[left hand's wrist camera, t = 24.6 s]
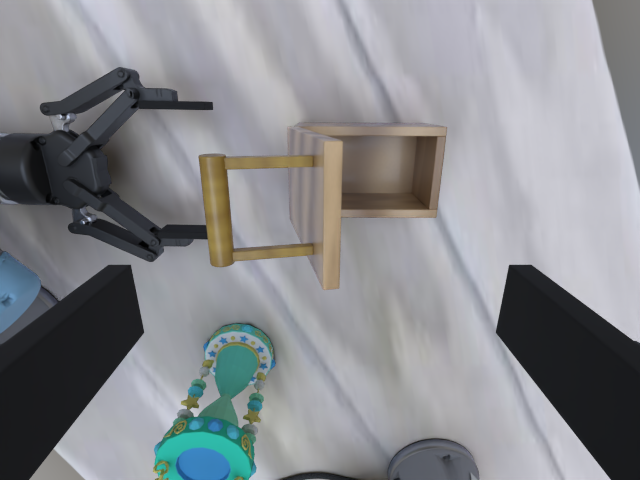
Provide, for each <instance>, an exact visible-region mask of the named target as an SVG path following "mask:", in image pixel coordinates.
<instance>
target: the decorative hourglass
mask: <svg viewBox="0 0 640 480" xmlns="http://www.w3.org/2000/svg"><path fill="white" fill-rule="evenodd" d="M204 351H205V361H204V362H203V365H202V366H203V367H202V368H201V369H200V372H199V373H200V376H202V377H201V379H196V380H193V382H192V383H191V384H192V387H190V388H189V390H188V393H189V394H188V399H187V400H184V401H181V404H182V405H185V406H187V409H182V410H179V412H178V413H177V416H178V418H177V419H175V420H174V422H173V426H172V427H171V429H170V430H169V431H168V432H167V433H166V434H165V436H164V437H163V440H162V441H161V442H159V443H158V444H157V445H155V448H154V451H155V455H156V459H155V467H154V469H153V472H154V473H158V476H159V478H157V479H155V480H249V478H250V477H251V476H252V475H253V474H254V473H255V472H256V466H255V463H254V461H253V460H254V455H255V454H254V446H253V444H254V443H255V441H256V437H255V436H254V435H255V434H256V433H257V432H258V430H257V427H256V426H255V425H252V423H253V422H260V421H261V419H260V418H259V417H258V416H257V415H258V413H259V411H260V410H261V409H262V404H261V403H262V402H263V401H264V398H263V396H262V395H261V394H259V393H258V392H259V390H262V389H263V388H264V381H265V379H266V375H267V373H268V372H269V370H270V369H272V368H273V367H274V366H275V364H276V363H275V360H274V358H273V347H272V345H271V342H270V340H269V338H268V337H267V336H266V335H265V334H264V333H263V332H262V331H261V330H259V329H257V328H255V327H252V326H250V325H245V324H232V325H228V326H224V327H222V328H221V329H219V330H218V331H217V332H215V333H214V334H213V336H212V337H211V339H210V341H208V342H207V343H205V344H204ZM209 371H210V373H211V374H212V375H214V376H215V381H216V384H217V387H218V390H219V393H220V396H221V397H220V398H219V399H217V400H216V401H215V402H213V403H212V404H210V405H209V406H208V407H206V408H205V409H204V410H203V411H202V412H201V413H200V414H199V416H198V417H194V416H193V413H192V412H191V411H190V410H189V409H191V408H192V407H193V408H199V405H198V403H197V401H198V399H199V398H200V397H201V396H202V395H203V390H204V389H205V388H206V383H205V382H204V381H203V380H202V378H203V377H206V376H207V375H208V374H209ZM252 384H255V385H254V386H255V388H256V389H257V390H258V392H257V393H253V394H251V395H250V397H249V399H250V402H249V403H248V404H247V405H248V409H249V410H248V414H247V415H245V416H244V417H243V419H246V420H249V422H250V424H246V425H244V426H243V427H242V429H241V428H239V427H238V419H237V415H236V413H235V410H234V407H233V405H232V402H231V399H232V398H233V397H235V396H236V395H237V394H239V393H240V392H241V391H242V390H244V389H245V388H246V387H247V386H248V385H252Z"/></svg>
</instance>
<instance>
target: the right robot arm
mask: <svg viewBox="0 0 640 480" xmlns="http://www.w3.org/2000/svg"><path fill="white" fill-rule="evenodd" d="M122 90H125V91H124V92H123V93H122V94H121V95H120V96H119V97H118V98H117V99H116V100H115V102H114V103H113V104H112V105H111V106H110V107H109V108H108V109H107V110H106V111H105V112H104V113H103V114H102V115H101V116H100V117H99V118H98V119H97V120H96V121H95V122H94V123H93V125H92V126H91V127H90V128H89V129H88V130H87V131H85V132H83V133H82V134H80V135H78V134H77V133H75V132H74V131H72V130H69V124H70V123H72V122H74V121H75V119H76V118H77V116H76V114H78V113H82V112H85V111H87V110H88V109H90V108H92V107H94V106H95V105H97V104H99V103H101V102H103V101H104V100H106V99H108V98H110V97H111V96H113V95H115V94H117V93H118V92H120V91H122ZM138 108H139V109H182V110H213V103H212V102H189V101H178V97H177V91H175V90H172V89H162V88H161V89H160V88H145V87H143V86H142V84H141V82H140V80H139V74H138V72H137V71H135V70H132V69H127V68H122V67H119V68H116V69H115V70H113V71H111V72H110V73H108V74H106V75H104V76H103V77H101V78H99V79H98V80H96V81H94V82H92V83H91V84H89V85H87V86H85V87H84V88H82V89H80V90H79V91H77V92H75V93H73V94H72V95H70V96H68V97H67V98H65V99H63V100H61V101H56V102H47V103H42V104H41V105H40V110H41V112H42V113H43V114H44V115H47V116H49V117H50V120H51V123H52V125H53V128H54V131H53V132H52V133H50V134H21V133H13V134H7V133H0V204H30V205H64V206H67V207H69V208H71V209H72V215H73V223H71V224H69V225H68V229H69V231H70V232H71V233H74V234H82V235H90V236H92V237H94V238H96V239H99V240H101V241H103V242H106V243H108V244H110V245H112V246H115V247H117V248H119V249H121V250H124V251H126V252H128V253H130V254H133V255H135V256H137V257H140V258H142V259H144V260H146V261H149V262H153V261H154V260H156V259H157V258H158V257H159V256H160V255H161V254H162V253H163V252H164V248H163V247H164V246H188V245H190V244H191V243H192V241H193V239H208V236H207V227H206V225H166V226H165V227H163V228H162V229H161V228H159V227H158V226H157V225H155V224H154V223H152V222H151V221H150V220H148V219H147V218H146V217H144V216H143V215H142V214H140V213H139V212H138V211H136V210H135V209H133V208H132V207H131V206H129V205H128V204H127V203H125V202H124V201H123V200H121V199H120V198H119V195H118V194H117V193H115V192H114V191H113V190H111V189H110V188H109V184H111V183H112V182H111V177H110V175H109V172H108V170H107V166H108V161H107V155H104V154H103V152H102V151H101V150H100V149H101V148H102V147H103V146H104V145H105V144H106V143H107V142H108V141H109V138H110V137H111V136H112V135H113V134H114V133H115V132H116V131H117V130H118V129H119V128H120V127H121V126H122V125H123V124H124V123H125V122H126V121H127V120H128V119H129V118H130V117H131V116H132V115H133V114H134V112H135V111H136V110H137V109H138ZM100 196H101V197H103V198H100ZM87 206H91V207H92V208H94V209H95V210H97V211H101V212H104V213H105V214H106V215H108V216H109V217H111V218H112V219H113V220H115V221H116V222H118V223H119V224H120V225H122V226H123V227H125V228H126V229H127V230H126V229H123V228H121V227H119V226H117V225H115V224H112V223H110V222H108V221H105V220H102V219H97V216H96V215H95V214H91V213H89V212H88V211H87V210H86V207H87ZM128 230H129V231H128ZM57 303H58V301H57V300H56V299H55V298H54V297H53V296H52V295H51V294H50V293H48V292H47V291H46V290H45V289H43V288H42V287H41V281H40V279H39V277H38V275H36V274H35V273H34V272H33V271H31V270H30V269H28V268H27V267H26V266H24V265H23V264H22V263H20V262H19V261H18V260H16V259H15V258H13V257H12V256H11V255H10V254H9V253H7V252H6V251H4V252H3V251H2V250H0V344H2V343H4V342H6V341H7V340H8V339H10V338H11V337H12V336H14V335H15V334H16V333H18V332H19V331H20V330H22V329H23V328H25V327H26V326H27V325H29V324H30V323H31V322H33V321H34V320H35V319H37V318H38V317H39V316H41V315H42V314H43V313H45V312H46V311H47V310H49V309H50V308H51V307H53V306H54V305H55V304H57Z"/></svg>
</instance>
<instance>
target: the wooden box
mask: <svg viewBox="0 0 640 480" xmlns="http://www.w3.org/2000/svg"><path fill="white" fill-rule="evenodd" d="M294 127H301V128H304V129H307V130H310V131H313V132H316V133H319V134H322V135H326V136H329V137H332V138H335V139H338V140H341V141H343V162H342V202H341V217H388V218H436V216H437V207H438V199H439V191H440V182H441V174H442V166H443V158H444V149H445V141H446V133H447V127H444V126H438V125H431V124H425V123H298V124H297V125H295V126H294Z"/></svg>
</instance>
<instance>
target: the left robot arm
mask: <svg viewBox="0 0 640 480" xmlns="http://www.w3.org/2000/svg"><path fill="white" fill-rule="evenodd" d="M143 333H144V329H143V324H142V319H141V314H140V309H139V304H138V299H137V294H136V289H135V284H134V279H133V274H132V269H131V265H108V266H107V267H105V268H104V269H102V270H101V271H100V272H98V273H97V274H96V275H94V276H93V277H92V278H90V279H89V280H88V281H86V282H85V283H84V284H82V285H81V286H80V287H78V288H77V289H76V290H74V291H73V292H72V293H70V294H69V295H68V296H66V297H65V298H64V299H62V300H61V301H59V302H58V303H57V304H55V305H54V306H53V307H51V308H50V309H49V310H47V311H46V312H45V313H43V314H42V315H41V316H39V317H38V318H37V319H35V320H34V321H33V322H31V323H30V324H29V325H27V326H26V327H25V328H23V329H22V330H20V331H19V332H18V333H16V334H15V335H14V336H12V337H11V338H10V339H8V340H7V341H6V342H4V343H2V344H0V480H29V479H30V478H31V477H32V475H33V474H34V473H35V471H36V470H37V469H38V468H39V466H40V465H41V464H42V462H43V461H44V460H45V459H46V457H47V456H48V455H49V454H50V452H51V451H52V450H53V448H54V447H55V446H56V445H57V443H58V442H59V441H60V439H61V438H62V437H63V436H64V434H65V433H66V432H67V430H68V429H69V428H70V427H71V425H72V424H73V423H74V422H75V420H76V419H77V418H78V416H79V415H80V414H81V413H82V411H83V410H84V409H85V407H86V406H87V405H88V404H89V402H90V401H91V400H92V399H93V397H94V396H95V395H96V393H97V392H98V391H99V390H100V388H101V387H102V386H103V384H104V383H105V382H106V381H107V379H108V378H109V377H110V376H111V374H112V373H113V372H114V370H115V369H116V368H117V367H118V365H119V364H120V363H121V361H122V360H123V359H124V358H125V356H126V355H127V354H128V353H129V351H130V350H131V349H132V347H133V346H134V345H135V344H136V342H137V341H138V340H139V338H140V337H141V336H142V335H143ZM496 333H497V335H498V336H499V337H500V338H501V340H502V341H503V342H504V344H505V345H506V346H507V347H508V349H509V350H510V351H511V353H512V354H513V355H514V356H515V358H516V359H517V360H518V361H519V363H520V364H521V365H522V367H523V368H524V369H525V370H526V372H527V373H528V374H529V376H530V377H531V378H532V379H533V381H534V382H535V383H536V384H537V386H538V387H539V388H540V390H541V391H542V392H543V393H544V395H545V396H546V397H547V399H548V400H549V401H550V402H551V404H552V405H553V406H554V407H555V409H556V410H557V411H558V413H559V414H560V415H561V416H562V418H563V419H564V420H565V422H566V423H567V424H568V425H569V427H570V428H571V429H572V430H573V432H574V433H575V434H576V436H577V437H578V438H579V439H580V441H581V442H582V443H583V445H584V446H585V447H586V448H587V450H588V451H589V452H590V454H591V455H592V456H593V457H594V459H595V460H596V461H597V462H598V464H599V465H600V466H601V468H602V469H603V470H604V471H605V473H606V474H607V475H608V477H609V478H610V479H611V480H640V343H639V342H637V341H633V340H632V339H630V338H629V337H628V336H626V335H625V334H624V333H622V332H621V331H620V330H618V329H617V328H615V327H614V326H613V325H611V324H610V323H609V322H607V321H606V320H605V319H603V318H602V317H601V316H599V315H598V314H597V313H595V312H594V311H593V310H591V309H590V308H589V307H587V306H586V305H585V304H583V303H582V302H581V301H579V300H578V299H576V298H575V297H574V296H572V295H571V294H570V293H568V292H567V291H566V290H564V289H563V288H562V287H560V286H559V285H558V284H556V283H555V282H554V281H552V280H551V279H550V278H548V277H547V276H546V275H544V274H543V273H542V272H540V271H539V270H538V269H536V268H535V267H533V266H532V265H509V269H508V274H507V279H506V284H505V289H504V294H503V299H502V304H501V309H500V314H499V319H498V324H497V329H496ZM305 479H329V480H356V479H350V478H346V477H342V476H337V475H332V474H326V473H309V474H302V475H297V476H293V477H290V478H287V479H284V480H305ZM388 479H389V480H479V472H478V468H477V466H476V464H475V462H474V459H473V457H472V455H471V454H470V453H469V451H468V450H466V449H465V448H464V447H463V446H461V445H459V444H457V443H455V442H452V441H448V440H440V439H432V440H424V441H420V442H417V443H414V444H411V445H409V446H407V447H406V448H404V449H402V450H401V451H400V452H399V453H398V454H397V455H396V456H395V457H394V458H393V459H392V461H391V463H390V465H389V468H388Z"/></svg>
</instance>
